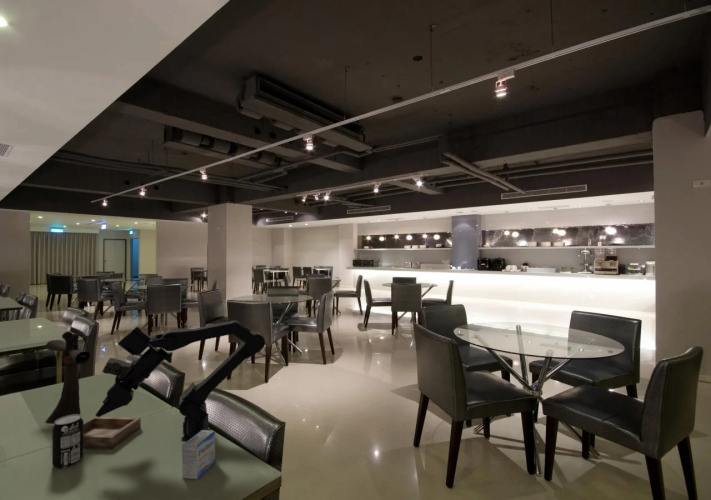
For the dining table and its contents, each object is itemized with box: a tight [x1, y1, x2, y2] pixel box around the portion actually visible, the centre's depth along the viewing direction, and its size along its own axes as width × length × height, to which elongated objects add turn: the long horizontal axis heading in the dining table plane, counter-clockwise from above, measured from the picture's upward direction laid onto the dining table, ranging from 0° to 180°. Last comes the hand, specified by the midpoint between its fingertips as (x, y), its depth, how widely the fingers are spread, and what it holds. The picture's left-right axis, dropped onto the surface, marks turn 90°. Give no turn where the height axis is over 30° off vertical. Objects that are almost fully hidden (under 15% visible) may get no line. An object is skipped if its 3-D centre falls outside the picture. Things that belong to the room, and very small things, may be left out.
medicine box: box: [181, 430, 216, 480], centre depth 93 cm, size 8×4×9 cm, turn 168°
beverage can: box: [51, 413, 84, 469], centre depth 96 cm, size 7×7×12 cm
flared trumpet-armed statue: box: [45, 330, 91, 424], centre depth 124 cm, size 32×10×30 cm, turn 55°
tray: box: [83, 416, 142, 451], centre depth 109 cm, size 16×12×4 cm
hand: (100, 409), depth 100 cm, fingers open, 9 cm apart
